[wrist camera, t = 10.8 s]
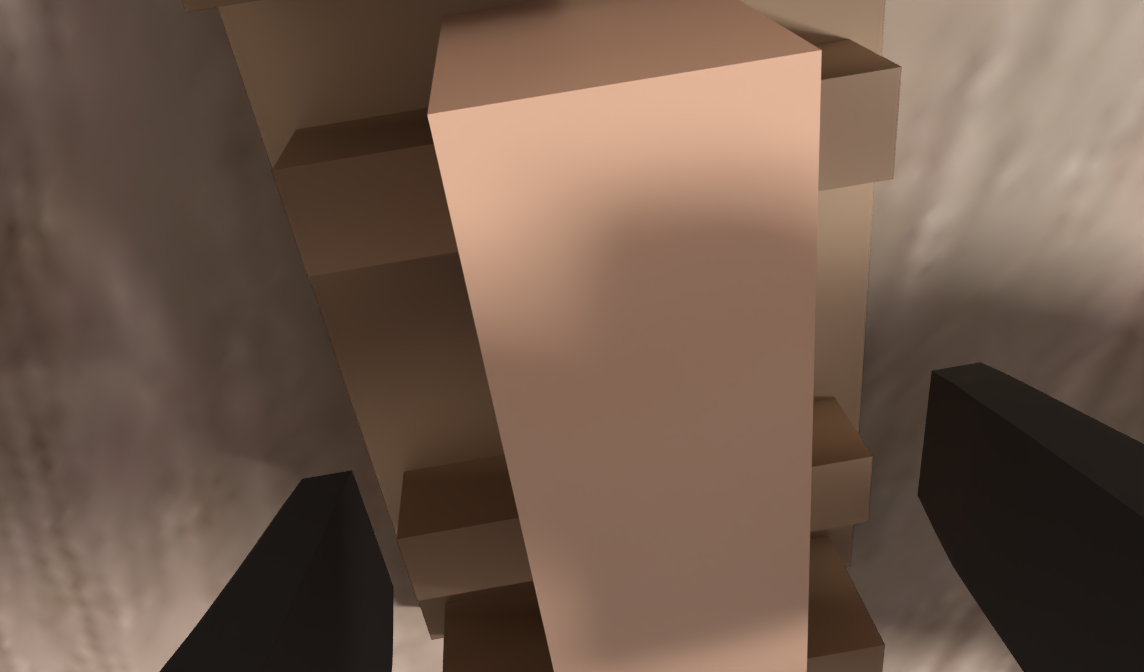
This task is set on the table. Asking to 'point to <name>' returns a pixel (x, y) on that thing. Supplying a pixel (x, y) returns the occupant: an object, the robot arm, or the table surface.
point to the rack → (445, 320)
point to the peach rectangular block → (645, 314)
